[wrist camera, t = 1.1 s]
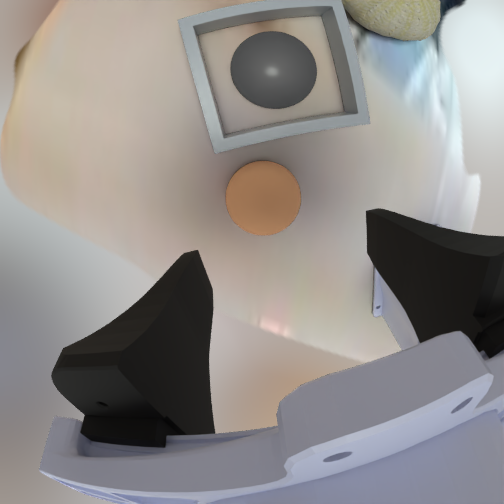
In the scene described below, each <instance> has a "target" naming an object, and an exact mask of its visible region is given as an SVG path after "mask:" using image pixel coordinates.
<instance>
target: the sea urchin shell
mask: <svg viewBox="0 0 504 504" xmlns="http://www.w3.org/2000/svg"><path fill="white" fill-rule="evenodd" d="M341 1H342V4H343V7H344V8H345V9H346V11H347V12H348V13H349V14H350V15H351V17H352V18H353V19H354V20H355V21H357V22H358V23H359V24H361V25H362V26H363V27H365V28H367V29H369V30H371V31H374V32H376V33H378V34H381V35H383V36H388V37H393V38H396V39H399V40H403V41H405V40H407V41H408V40H419V41H421V40H423V39H426V38H427V37H429V36H430V35H432V33H433V32H434V31H435V29H436V26H437V24H438V22H440V3H441V2H440V1H439V0H341Z"/></svg>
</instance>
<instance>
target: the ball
mask: <svg viewBox="0 0 504 504" xmlns="http://www.w3.org/2000/svg"><path fill="white" fill-rule="evenodd" d="M300 204H301V193H300V188H299V185H298V183H297V181H296V179H295V177H294V176H293V175H292V173H291V172H290V171H289V170H287V169H286V168H285V167H283V166H282V165H280V164H277V163H275V162H271V161H256V162H252V163H249V164H247V165H245V166H243V167H242V168H240V169H239V170H238V171H237V172H236V173H235V174H234V175H233V177H232V178H231V180H230V182H229V184H228V187H227V190H226V206H227V210H228V212H229V214H230V216H231V218H232V219H233V221H234V222H235V223H236V224H237V225H238V226H239V227H240V228H242V229H243V230H245V231H247V232H249V233H251V234H255V235H272V234H275V233H278V232H280V231H282V230H284V229H285V228H287V227H288V226H289V225H290V224H291V223H292V222H293V221H294V219H295V218H296V216H297V214H298V211H299V208H300Z"/></svg>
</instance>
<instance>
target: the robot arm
mask: <svg viewBox="0 0 504 504" xmlns="http://www.w3.org/2000/svg"><path fill="white" fill-rule="evenodd" d="M366 223H367V253H368V255H369V257H370V259H371V261H372V263H373V264H374V266H375V273H374V298H373V316H374V317H378V316H383V318H384V319H385V321H386V323H387V324H388V326H389V328H390V330H391V332H392V333H393V335H394V337H395V339H396V340H397V342H398V344H399V346H400V348H401V350H402V351H399V352H397V353H394V354H391V355H388V356H386V357H383V358H380V359H377V360H374V361H371V362H368V363H365V364H362V365H358V366H355V367H352V368H349V369H345V370H342V371H339V372H335V373H331V374H327V375H325V376H322V377H320V378H317V379H315V380H312V381H310V382H307V383H304V384H302V385H300V386H299V387H298V388H296V389H295V390H294V391H292V392H291V393H290V394H288V395H287V396H286V397H285V398H283V399H282V400H281V401H280V403H279V407H278V411H277V422H278V426H273V427H267V428H261V429H254V430H246V431H238V432H229V433H219V434H215V429H214V421H213V413H212V404H211V392H210V374H209V349H210V339H211V329H212V318H213V289H212V286H211V283H210V281H209V278H208V276H207V273H206V270H205V268H204V265H203V262H202V260H201V257H200V254H199V252H198V250H195V251H191V252H187V253H184V254H183V255H181V256H180V257H179V258H178V259H177V260H176V262H175V263H174V264H173V265H172V266H171V267H170V268H169V269H168V270H167V272H166V273H165V274H164V275H163V276H162V277H161V278H160V279H159V280H158V281H157V282H156V284H155V285H154V286H153V287H152V288H151V289H150V290H149V291H148V292H147V293H146V294H145V295H144V296H143V297H142V298H141V299H139V301H137V302H136V303H135V304H134V305H133V306H131V307H130V308H129V309H128V310H127V311H125V312H124V313H122V314H121V315H120V316H118V317H117V318H116V319H114V320H113V321H112V322H110V323H109V324H107V325H106V326H104V327H102V328H101V329H99V330H98V331H96V332H94V333H93V334H91V335H89V336H87V337H85V338H84V339H82V340H80V341H77V342H75V343H74V344H71V345H69V346H67V347H65V348H63V350H62V352H61V354H60V356H59V358H58V360H57V362H56V365H55V367H54V369H53V371H52V375H51V376H52V380H53V383H54V385H55V386H56V388H57V390H58V391H59V392H60V393H61V394H62V395H63V396H64V397H65V398H66V399H67V400H68V401H70V402H71V403H72V404H73V405H74V406H75V407H76V408H77V409H79V410H80V411H81V412H82V413H83V414H84V415H85V416H84V420H83V422H82V421H79V420H77V419H73V418H67V417H61V416H55V417H54V419H53V422H52V425H51V428H50V431H49V435H48V438H47V441H46V445H45V449H44V452H43V456H42V460H41V464H40V468H39V470H40V472H41V473H43V474H44V475H46V476H48V477H50V478H52V479H54V480H56V481H58V482H60V483H62V484H64V485H66V486H68V487H70V488H72V489H74V490H76V491H79V492H81V493H83V494H86V495H88V496H92V497H95V498H99V499H102V500H106V501H110V502H114V503H118V504H504V236H486V235H478V234H471V233H465V232H459V231H455V230H451V229H446V228H442V227H441V226H440V225H432V224H428V223H425V222H422V221H419V220H416V219H413V218H410V217H407V216H404V215H401V214H398V213H395V212H392V211H388V210H385V209H379V208H378V209H373V210H369V211H366Z"/></svg>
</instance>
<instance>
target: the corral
mask: <svg viewBox="0 0 504 504" xmlns="http://www.w3.org/2000/svg"><path fill="white" fill-rule="evenodd" d="M304 16H322V19H323V23H324V26H325V30H326V33H327V37H328V40H329V44H330V48H331V51H332V55H333V59H334V64H335V68H336V72H337V76H338V81H339V86H340V90H341V95H342V100H343V106H344V111H345V112H341V113H333V114H326V115H319V116H312V117H306V118H300V119H295V120H289V121H284V122H279V123H274V124H269V125H264V126H260V127H255V128H251V129H247V130H242V131H238V132H234V133H230V134H226V135H225V133H224V130H223V126H222V122H221V119H220V115H219V111H218V108H217V104H216V100H215V97H214V93H213V89H212V86H211V82H210V78H209V75H208V71H207V67H206V64H205V60H204V56H203V53H202V49H201V46H200V42H199V38H198V35H199V34H203V33H207V32H211V31H215V30H219V29H223V28H227V27H232V26H237V25H242V24H247V23H253V22H259V21H266V20H273V19H282V18H291V17H304ZM178 23H179V27H180V31H181V34H182V38H183V42H184V45H185V49H186V53H187V56H188V60H189V64H190V67H191V71H192V75H193V78H194V82H195V85H196V89H197V93H198V96H199V100H200V103H201V107H202V110H203V114H204V118H205V121H206V125H207V128H208V132H209V135H210V139H211V142H212V146H213V149H214V153H215V154H216V153H220V152H224V151H228V150H231V149H235V148H239V147H243V146H247V145H252V144H256V143H260V142H265V141H269V140H274V139H279V138H284V137H289V136H294V135H299V134H305V133H310V132H316V131H322V130H328V129H335V128H342V127H349V126H357V125H365V124H370V117H369V111H368V105H367V99H366V94H365V88H364V83H363V78H362V74H361V69H360V65H359V60H358V56H357V52H356V48H355V44H354V40H353V37H352V33H351V30H350V26H349V23H348V19H347V16H346V13H345V10H344V7H343V4H342V1H341V0H265V1H258V2H251V3H245V4H240V5H234V6H229V7H224V8H220V9H216V10H211V11H207V12H203V13H200V14H196V15H192V16H189V17H186V18H182V19H179V20H178ZM231 75H232V79H233V82H234V84H235V86H236V88H237V89H238V91H239V92H240V93H241V94H242V95H243V96H244V97H245V98H246V99H247V100H249V101H250V102H252V103H254V104H256V105H259V106H262V107H266V108H273V109H279V108H286V107H290V106H292V105H295V104H297V103H299V102H300V101H302V100H303V99H304V98H305V97H306V96H307V95H308V94H309V93H310V92H311V90H312V88H313V86H314V84H315V81H316V76H317V68H316V62H315V59H314V57H313V55H312V53H311V52H310V50H309V49H308V48H307V46H306V45H305V44H304V43H302V42H301V41H300V40H298V39H297V38H295V37H293V36H291V35H289V34H286V33H282V32H273V31H270V32H262V33H258V34H255V35H253V36H251V37H249V38H248V39H246V40H245V41H244V42H242V43H241V44H240V46H239V47H238V48H237V49H236V51H235V53H234V55H233V58H232V61H231Z"/></svg>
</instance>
